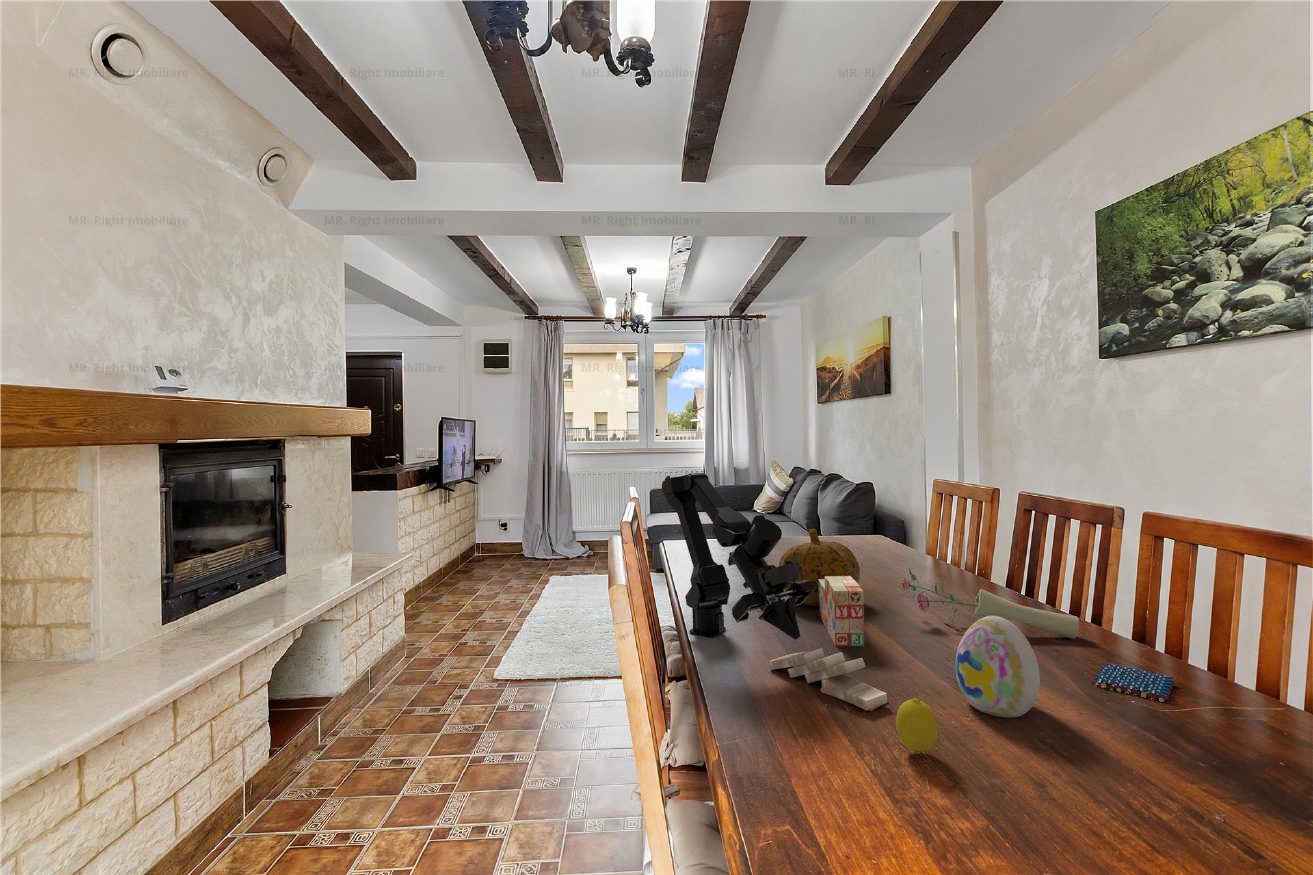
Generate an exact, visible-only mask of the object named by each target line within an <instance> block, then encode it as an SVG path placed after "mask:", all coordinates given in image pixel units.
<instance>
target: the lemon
mask: <svg viewBox="0 0 1313 875" xmlns="http://www.w3.org/2000/svg"><path fill="white" fill-rule="evenodd" d="M895 730H896V733H897V737H898V739H899V740H900V742H901V743H902V744H903V745H904V746H905V747H906V748H908V749H909V750H911V751H912V752H913V753H914V754H916V755H920V754H921V753H924V752H927V751H929V750H931V749H932V748H933V747H934V746H935V744H936V742H937V738H938V732H939V729H938V722H937V718H936V715H935V713H934V711H933V709H932V708H931V707H930V706H929V705H928V704H927V703H926V702H924V701H922V700H920V699H919V698H916V697H913V698H911V699H908V700H906V701H904V702H903V703H901V704H900V706H899V707H898V709H897V713H896V718H895Z"/></svg>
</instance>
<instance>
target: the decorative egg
mask: <svg viewBox="0 0 1313 875" xmlns="http://www.w3.org/2000/svg"><path fill="white" fill-rule="evenodd" d="M956 649H957V650H956V655H955V663H954V664H955V665H954V666H955V667H954V668H955V675H956V680H957V684H958V686H959V690H960V691H961V693H962V695H963V696H964V698H965V699H966V700H967V702H968V703H969V704H970V706H971V707H973V708H974V709H976V710H977V711H979V712H981V713H984V714H987V715H990V716H995V717H1000V718H1018V717H1022V716H1024V715H1025V714H1026V713H1028V712H1029V711H1030V710H1031V708H1032V707H1033V706H1034V704H1035V703H1036V701H1037V699H1038V696H1039V692H1040V686H1041V684H1040V683H1041V673H1040V667H1039V663H1038V660H1037V657H1036V654H1035V651H1034V650H1033V648H1032V646H1031V643H1030V641H1029V640H1028V639H1027V638H1026V636H1025V635H1024V634H1023V633H1022V631H1021V630H1020V629H1019V628H1018V627H1017V626H1016V625H1015V624H1013V623H1012V622H1011V621H1010V620H1009V619H1004V618H1002V617H999V616H987V617H986V616H983V617H981V618H979V619H978V620H976V621H975V622H973V623H972V624H971V625H970V626H969V628H968V629H966V631H965V632H964V634H963V636H961V639H960V641H959V643H958V647H957V648H956Z"/></svg>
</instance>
